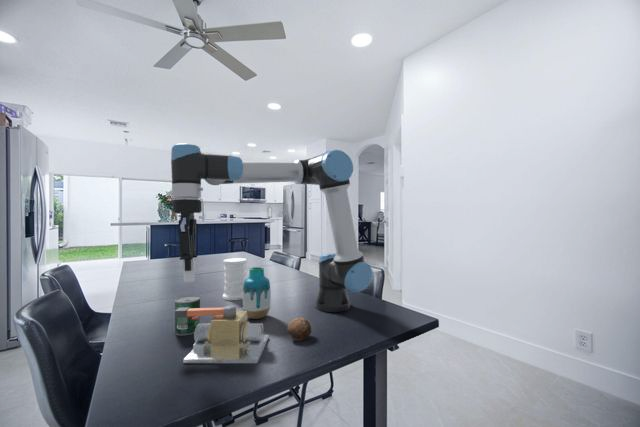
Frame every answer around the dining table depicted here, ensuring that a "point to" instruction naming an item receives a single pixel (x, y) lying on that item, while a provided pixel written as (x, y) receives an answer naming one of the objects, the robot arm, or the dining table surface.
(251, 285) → the vase
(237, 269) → the decorative container
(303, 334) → the brown round lump
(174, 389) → the dining table surface
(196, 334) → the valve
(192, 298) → the canned tomato
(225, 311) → the lever
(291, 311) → the dining table surface
